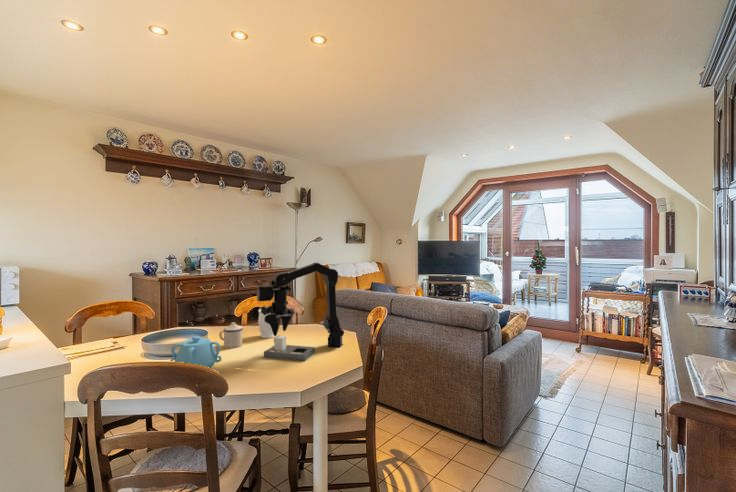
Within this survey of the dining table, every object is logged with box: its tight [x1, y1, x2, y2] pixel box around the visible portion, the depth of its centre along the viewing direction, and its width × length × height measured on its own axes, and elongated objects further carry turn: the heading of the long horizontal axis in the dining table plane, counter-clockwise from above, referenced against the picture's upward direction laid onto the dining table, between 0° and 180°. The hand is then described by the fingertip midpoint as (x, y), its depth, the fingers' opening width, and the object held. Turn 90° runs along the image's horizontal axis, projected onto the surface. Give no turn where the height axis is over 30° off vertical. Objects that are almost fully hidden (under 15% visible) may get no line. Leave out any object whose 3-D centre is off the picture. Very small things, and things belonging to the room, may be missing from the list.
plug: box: [273, 335, 287, 351], centre depth 161 cm, size 5×4×8 cm
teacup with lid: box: [219, 322, 244, 349], centre depth 174 cm, size 12×9×12 cm
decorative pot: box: [169, 335, 222, 369], centre depth 141 cm, size 16×16×14 cm
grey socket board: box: [263, 344, 316, 362], centre depth 159 cm, size 20×12×3 cm, turn 78°
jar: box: [258, 308, 276, 339], centre depth 191 cm, size 11×10×15 cm
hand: (279, 333), depth 160 cm, fingers open, 9 cm apart
